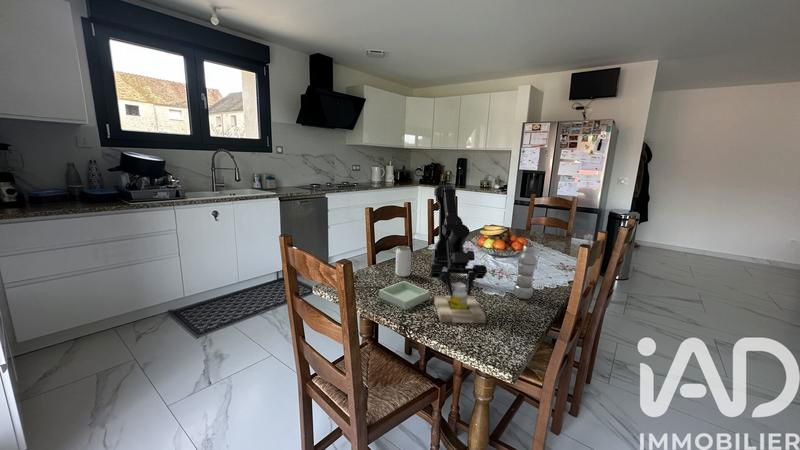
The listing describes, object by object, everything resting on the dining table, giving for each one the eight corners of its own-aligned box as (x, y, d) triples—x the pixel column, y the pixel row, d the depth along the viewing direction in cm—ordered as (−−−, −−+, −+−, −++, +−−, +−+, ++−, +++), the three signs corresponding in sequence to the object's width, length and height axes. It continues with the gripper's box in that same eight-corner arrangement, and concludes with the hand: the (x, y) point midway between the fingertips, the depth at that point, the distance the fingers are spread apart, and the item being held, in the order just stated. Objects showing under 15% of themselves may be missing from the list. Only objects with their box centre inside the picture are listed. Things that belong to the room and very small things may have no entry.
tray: (403, 288, 122) (403, 280, 122) (429, 299, 113) (430, 291, 113) (378, 297, 113) (379, 289, 112) (404, 310, 104) (405, 302, 104)
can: (408, 277, 133) (409, 250, 130) (393, 276, 134) (394, 249, 132) (411, 272, 139) (412, 246, 137) (397, 271, 140) (397, 245, 138)
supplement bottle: (446, 309, 106) (448, 282, 104) (459, 307, 108) (462, 280, 106) (455, 317, 101) (457, 288, 99) (469, 314, 103) (471, 286, 101)
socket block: (434, 302, 111) (434, 295, 111) (473, 302, 112) (473, 296, 111) (440, 322, 97) (440, 314, 97) (484, 323, 98) (485, 315, 97)
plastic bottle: (509, 295, 119) (515, 244, 115) (522, 292, 122) (529, 243, 118) (521, 302, 113) (528, 249, 109) (535, 299, 116) (542, 247, 112)
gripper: (432, 240, 103) (435, 285, 95) (488, 242, 104) (496, 286, 95) (428, 256, 113) (430, 298, 104) (479, 257, 113) (485, 299, 105)
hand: (460, 295), depth 102 cm, fingers closed on supplement bottle, 5 cm apart
